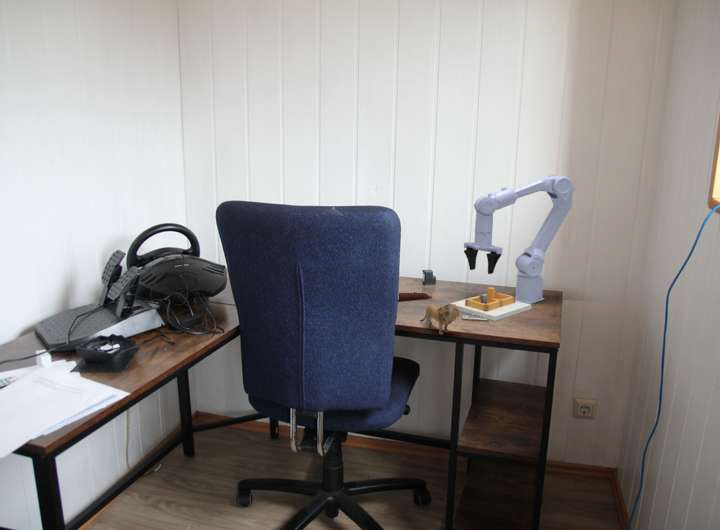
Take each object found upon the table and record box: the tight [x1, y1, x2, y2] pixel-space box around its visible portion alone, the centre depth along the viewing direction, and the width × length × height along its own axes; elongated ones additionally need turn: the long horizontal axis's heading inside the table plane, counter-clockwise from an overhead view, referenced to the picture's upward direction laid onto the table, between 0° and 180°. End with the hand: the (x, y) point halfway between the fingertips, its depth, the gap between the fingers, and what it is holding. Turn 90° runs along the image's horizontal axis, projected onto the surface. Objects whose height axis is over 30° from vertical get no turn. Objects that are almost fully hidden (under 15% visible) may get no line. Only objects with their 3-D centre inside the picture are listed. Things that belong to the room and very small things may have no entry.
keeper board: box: [449, 293, 532, 322], centre depth 176 cm, size 20×18×5 cm
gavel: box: [398, 292, 433, 301], centre depth 186 cm, size 21×5×10 cm
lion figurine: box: [419, 303, 462, 335], centre depth 155 cm, size 15×5×9 cm, turn 38°
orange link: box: [464, 286, 516, 312], centre depth 176 cm, size 16×8×6 cm, turn 131°
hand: (481, 271), depth 184 cm, fingers open, 7 cm apart
